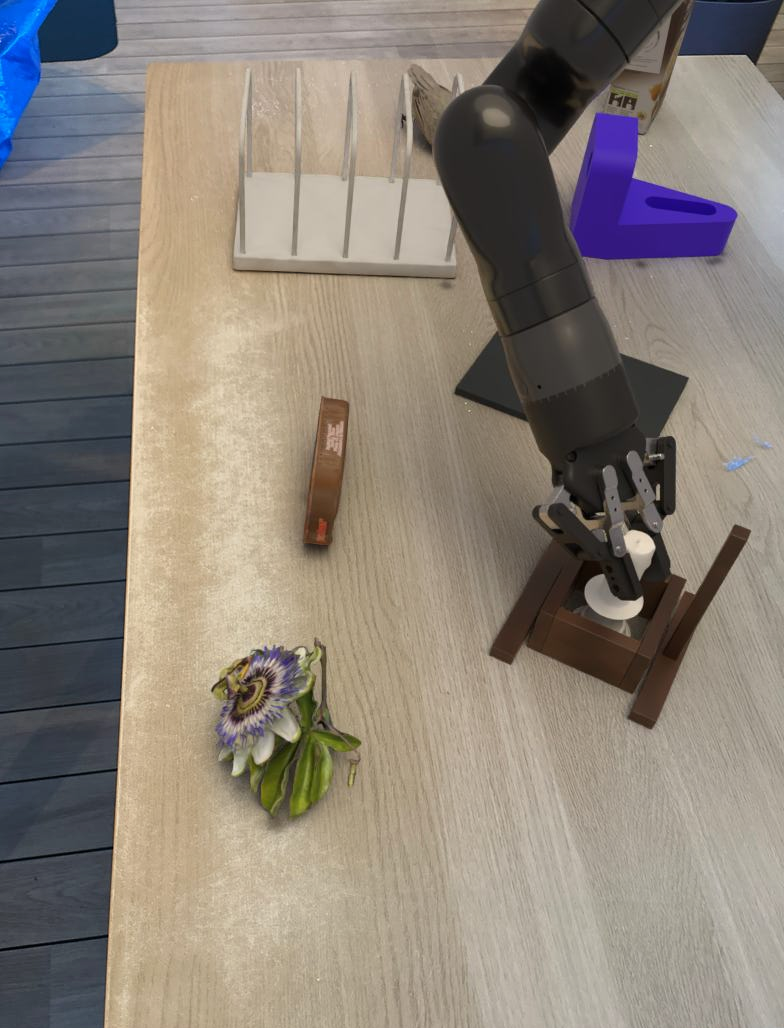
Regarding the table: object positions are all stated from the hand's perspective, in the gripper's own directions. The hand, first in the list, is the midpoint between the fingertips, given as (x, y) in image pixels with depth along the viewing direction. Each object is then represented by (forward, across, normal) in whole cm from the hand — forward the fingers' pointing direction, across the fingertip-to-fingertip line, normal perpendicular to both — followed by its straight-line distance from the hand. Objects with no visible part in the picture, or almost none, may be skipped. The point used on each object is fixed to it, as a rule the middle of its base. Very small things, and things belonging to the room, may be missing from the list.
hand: (645, 587), depth 76 cm
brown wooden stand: (+4, 0, +7) cm, 8 cm away
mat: (-12, +21, +23) cm, 33 cm away
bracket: (-22, +48, +33) cm, 62 cm away
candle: (+4, 0, +7) cm, 8 cm away
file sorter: (-37, +19, +48) cm, 64 cm away
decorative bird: (-42, +41, +53) cm, 79 cm away
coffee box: (-36, +68, +48) cm, 91 cm away
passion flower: (0, -28, +12) cm, 30 cm away
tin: (-14, -10, +25) cm, 30 cm away
